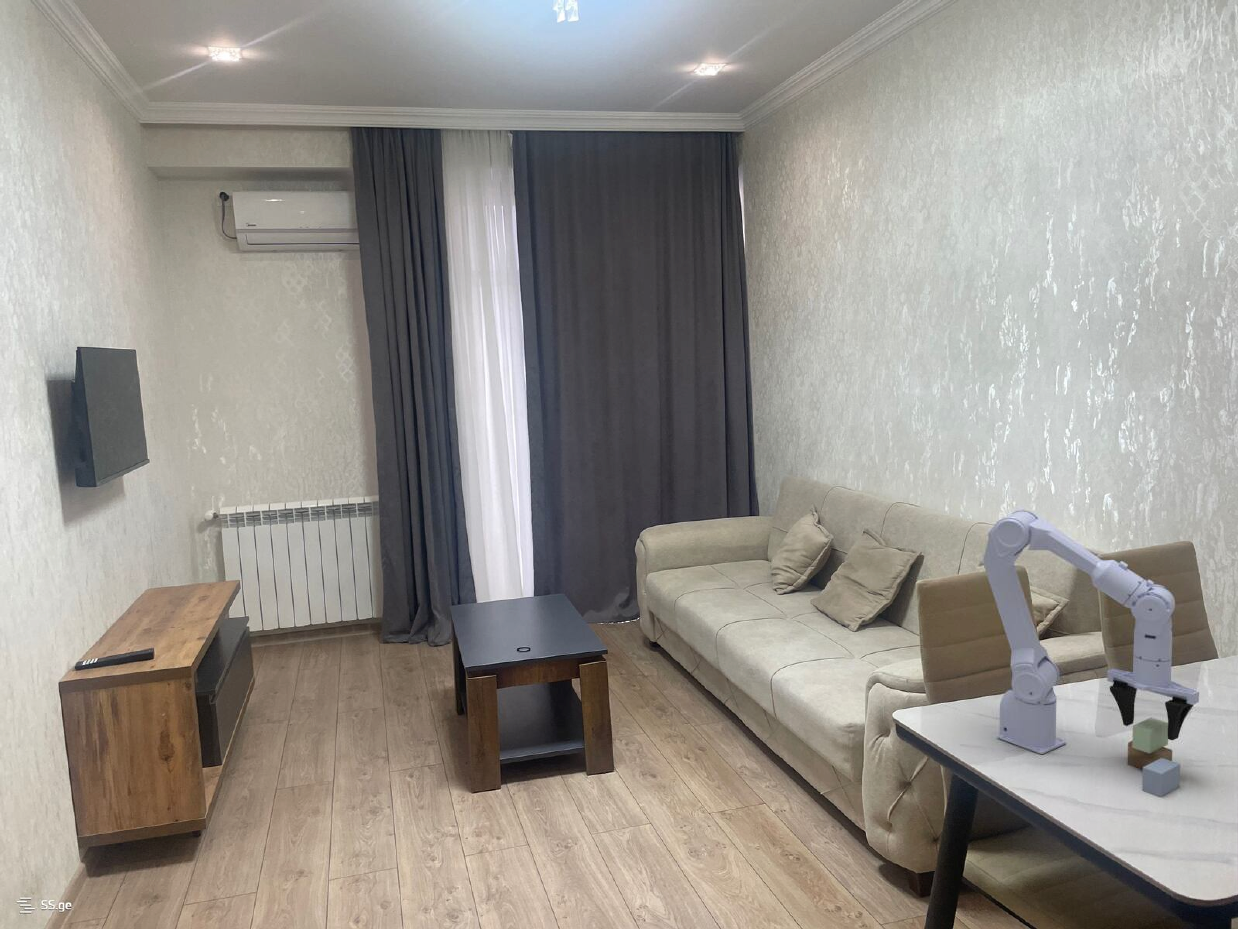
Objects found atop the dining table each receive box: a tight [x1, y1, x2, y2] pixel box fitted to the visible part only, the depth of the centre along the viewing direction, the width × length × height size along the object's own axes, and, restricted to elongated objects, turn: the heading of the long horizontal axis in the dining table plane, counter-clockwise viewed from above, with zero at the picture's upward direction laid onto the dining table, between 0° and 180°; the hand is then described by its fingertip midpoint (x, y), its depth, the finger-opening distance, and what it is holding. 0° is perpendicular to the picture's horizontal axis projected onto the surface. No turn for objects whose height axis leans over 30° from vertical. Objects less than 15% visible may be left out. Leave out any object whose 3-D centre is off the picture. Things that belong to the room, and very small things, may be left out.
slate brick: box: [1141, 758, 1181, 798], centre depth 150 cm, size 6×3×4 cm, turn 122°
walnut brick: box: [1127, 740, 1173, 770], centre depth 158 cm, size 6×3×4 cm, turn 32°
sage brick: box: [1131, 717, 1169, 753], centre depth 157 cm, size 6×3×4 cm, turn 122°
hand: (1150, 731), depth 157 cm, fingers open, 7 cm apart
